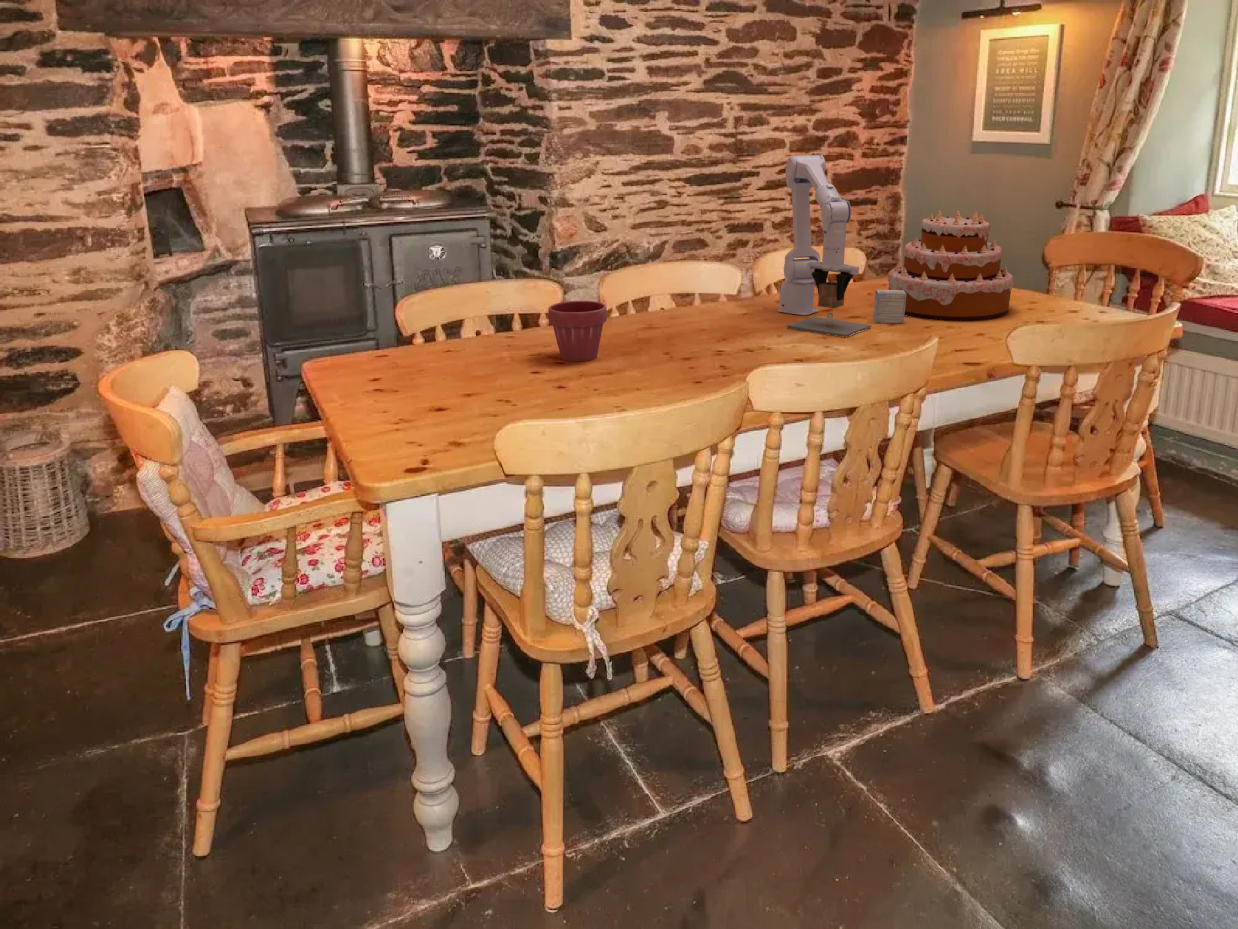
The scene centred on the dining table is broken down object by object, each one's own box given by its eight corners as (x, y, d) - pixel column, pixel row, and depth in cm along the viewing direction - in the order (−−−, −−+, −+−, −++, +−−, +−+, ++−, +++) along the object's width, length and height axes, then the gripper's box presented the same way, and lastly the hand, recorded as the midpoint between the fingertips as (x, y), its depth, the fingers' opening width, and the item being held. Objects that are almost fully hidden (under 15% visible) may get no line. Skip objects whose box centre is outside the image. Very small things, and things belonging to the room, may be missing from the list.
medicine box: (901, 320, 283) (904, 289, 280) (903, 323, 279) (906, 292, 276) (872, 320, 284) (875, 289, 281) (875, 323, 280) (877, 292, 277)
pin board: (787, 328, 276) (787, 313, 274) (813, 319, 286) (814, 305, 284) (845, 337, 265) (846, 322, 263) (871, 328, 275) (872, 313, 273)
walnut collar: (818, 306, 273) (819, 283, 271) (827, 303, 277) (828, 281, 274) (834, 308, 270) (835, 286, 268) (843, 305, 273) (845, 283, 271)
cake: (986, 296, 313) (997, 205, 303) (1027, 321, 280) (1041, 219, 270) (874, 297, 314) (881, 206, 304) (901, 322, 281) (910, 221, 271)
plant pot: (540, 361, 246) (538, 309, 242) (563, 348, 259) (562, 298, 254) (594, 366, 242) (593, 313, 237) (615, 352, 254) (614, 302, 249)
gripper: (802, 247, 269) (799, 297, 274) (850, 252, 260) (847, 304, 265) (816, 244, 274) (813, 293, 279) (864, 248, 265) (860, 299, 270)
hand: (830, 298), depth 272 cm, fingers closed on walnut collar, 5 cm apart
